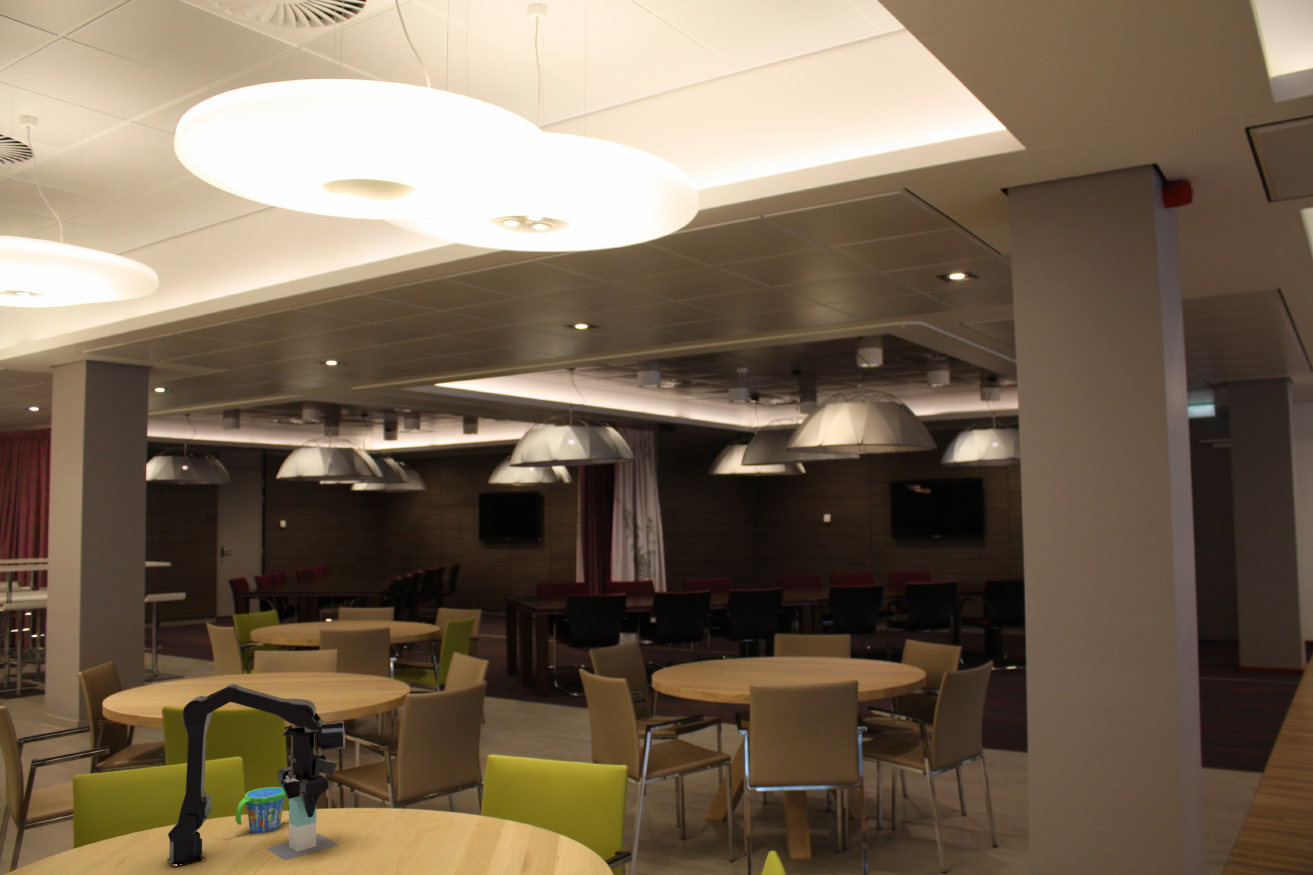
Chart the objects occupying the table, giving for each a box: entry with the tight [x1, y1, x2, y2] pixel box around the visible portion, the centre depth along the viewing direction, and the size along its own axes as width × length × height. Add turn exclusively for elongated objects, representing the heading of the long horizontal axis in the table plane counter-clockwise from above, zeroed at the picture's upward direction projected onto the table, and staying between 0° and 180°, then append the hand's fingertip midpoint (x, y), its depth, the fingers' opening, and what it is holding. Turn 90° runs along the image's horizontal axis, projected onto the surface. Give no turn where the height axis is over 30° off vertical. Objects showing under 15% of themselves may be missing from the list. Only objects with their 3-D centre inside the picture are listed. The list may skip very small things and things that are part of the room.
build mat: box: [265, 833, 339, 861], centre depth 241 cm, size 14×12×1 cm
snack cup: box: [235, 786, 289, 834], centre depth 257 cm, size 16×10×10 cm
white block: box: [288, 821, 317, 851], centre depth 241 cm, size 5×5×6 cm
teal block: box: [288, 795, 317, 827], centre depth 242 cm, size 5×5×6 cm
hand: (302, 812), depth 242 cm, fingers open, 9 cm apart
